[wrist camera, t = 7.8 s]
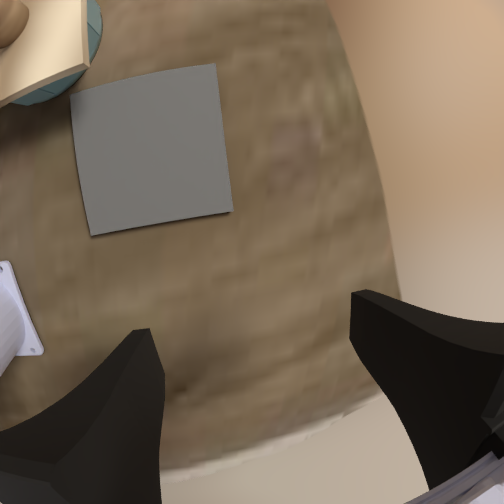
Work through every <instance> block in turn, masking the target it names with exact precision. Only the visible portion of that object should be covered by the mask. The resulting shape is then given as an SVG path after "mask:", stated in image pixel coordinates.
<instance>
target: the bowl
mask: <svg viewBox="0 0 504 504" xmlns="http://www.w3.org/2000/svg"><path fill="white" fill-rule="evenodd" d="M87 31H88V49H89V62H90V63H91V62H92V60H93V58H94V56H95V54H96V52H97V50H98V48H99V44H100V41H101V37H102V31H103V22H102V16H101V13H100V7H99V5H98V4H97V2H96V1H95V0H87ZM85 71H86V69H85V70H82V71H79V72H77V73H74V74H72V75H69V76H66V77H64V78H62V79H59V80H57V81H54V82H52V83H50V84H47V85H45V86H43V87H41V88H38V89H36V90H34V91H32V92H30V93H28V94H26V95H24V96H22V97H20V98H18V99H16V100H14V101H12V102H10V103H15V104H21V105H26V106H28V105H31V104H37V103H42V102H45V101H48V100H50V99H52V98H55V97H56V96H58V95H60V94H61V93H63V92H64V91H65V90H67V89H68V88H69V87H70V86H72V85H73V84H74V83H75V82H76V81H77V80H78V79H79V78H80V77H81V76H82V74H83V73H84V72H85Z"/></svg>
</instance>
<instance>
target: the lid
mask: <svg viewBox="0 0 504 504" xmlns="http://www.w3.org/2000/svg"><path fill="white" fill-rule="evenodd" d="M88 68H90V62H89V49H88V31H87V0H0V108H1V107H3V106H4V105H6V104H8V103H10V102H12V101H14V100H16V99H18V98H20V97H22V96H24V95H26V94H28V93H30V92H32V91H34V90H36V89H38V88H41V87H43V86H45V85H47V84H50V83H52V82H54V81H57V80H59V79H62V78H64V77H66V76H69V75H72V74H74V73H77V72H79V71H82V70H85V69H88Z"/></svg>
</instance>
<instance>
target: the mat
mask: <svg viewBox="0 0 504 504" xmlns="http://www.w3.org/2000/svg"><path fill="white" fill-rule="evenodd" d="M70 104H71V116H72V127H73V136H74V144H75V152H76V159H77V166H78V172H79V178H80V184H81V190H82V195H83V200H84V205H85V210H86V215H87V220H88V224H89V229H90V233H91V236H92V235H97V234H102V233H107V232H113V231H118V230H123V229H129V228H134V227H140V226H145V225H151V224H156V223H162V222H168V221H174V220H180V219H186V218H192V217H198V216H205V215H211V214H218V213H224V212H231V211H233V203H232V195H231V188H230V180H229V172H228V164H227V156H226V148H225V139H224V131H223V123H222V115H221V106H220V98H219V89H218V80H217V72H216V63H214V64H206V65H198V66H191V67H184V68H178V69H171V70H166V71H160V72H155V73H150V74H145V75H140V76H136V77H131V78H127V79H123V80H119V81H115V82H111V83H107V84H104V85H100V86H96V87H93V88H90V89H86V90H83V91H80V92H77V93H73V94H70Z"/></svg>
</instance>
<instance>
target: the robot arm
mask: <svg viewBox="0 0 504 504" xmlns="http://www.w3.org/2000/svg"><path fill="white" fill-rule="evenodd" d="M0 266H1V267H2V269H3V270H1V267H0V377H1V375H2V374H3V372H4V371H5V369H6V368H7V366H8V365H9V363H10V362H11V360H12V359H13V358H14V356H30V355H42V354H43V352H44V348H43V346H42V343H41V341H40V339H39V337H38V335H37V332H36V330H35V328H34V325H33V323H32V321H31V318H30V316H29V313H28V311H27V308H26V306H25V303H24V301H23V298H22V295H21V292H20V290H19V287H18V284H17V281H16V278H15V275H14V272H13V269H12V266H11V264H10V262H9V261H7V260H5V261H0ZM349 339H350V341H351V343H352V345H353V347H354V349H355V351H356V353H357V355H358V357H359V358H360V360H361V361H362V363H363V364H364V366H365V367H366V369H367V370H368V371H369V373H370V374H371V376H372V377H373V378H374V380H375V381H376V382H377V384H378V385H379V386H380V388H381V389H382V391H383V392H384V393H385V395H386V396H387V397H388V399H389V400H390V402H391V404H392V405H393V407H394V408H395V410H396V412H397V414H398V416H399V417H400V420H401V422H402V423H403V425H404V427H405V429H406V432H407V434H408V436H409V438H410V440H411V442H412V444H413V446H414V449H415V451H416V454H417V456H418V459H419V461H420V464H421V466H422V469H423V472H424V475H425V478H426V481H427V484H428V487H429V491H428V492H426V493H424V494H423V495H420V496H419V497H417V498H415V499H413V500H411V501H409V502H406V503H405V504H504V323H492V322H482V321H473V320H467V319H462V318H457V317H452V316H447V315H443V314H440V313H436V312H432V311H429V310H426V309H423V308H420V307H417V306H414V305H411V304H408V303H405V302H403V301H400V300H397V299H395V298H392V297H389V296H386V295H384V294H381V293H378V292H375V291H371V290H367V289H365V290H361V291H356V292H352V293H351V317H350V336H349ZM34 349H35V350H34ZM164 401H165V373H164V370H163V367H162V365H161V362H160V359H159V356H158V353H157V350H156V347H155V344H154V341H153V338H152V335H151V332H150V328H147V329H139V330H133V331H132V332H131V333H130V334H129V335H128V336H127V337H126V338H125V339H124V340H123V341H122V342H121V343H120V344H119V345H118V346H117V348H116V349H115V350H114V351H113V352H112V353H111V354H110V355H109V356H108V357H107V358H106V359H105V360H104V362H103V363H102V364H101V365H99V366H98V367H97V368H96V369H95V370H94V371H93V372H92V373H91V374H90V375H89V376H88V377H87V378H86V379H85V380H84V381H83V382H82V383H81V384H80V385H78V386H77V387H76V388H75V389H74V390H72V391H71V392H70V393H68V394H67V395H66V396H65V397H63V398H62V399H61V400H59V401H57V402H56V403H54V404H53V405H51V406H50V407H48V408H47V409H45V410H44V411H42V412H41V413H39V414H37V415H35V416H34V417H32V418H30V419H28V420H26V421H24V422H22V423H20V424H18V425H16V426H14V427H11V428H9V429H6V430H4V431H1V432H0V502H1V503H2V504H162V500H161V489H160V474H159V446H160V436H161V427H162V419H163V410H164Z"/></svg>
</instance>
